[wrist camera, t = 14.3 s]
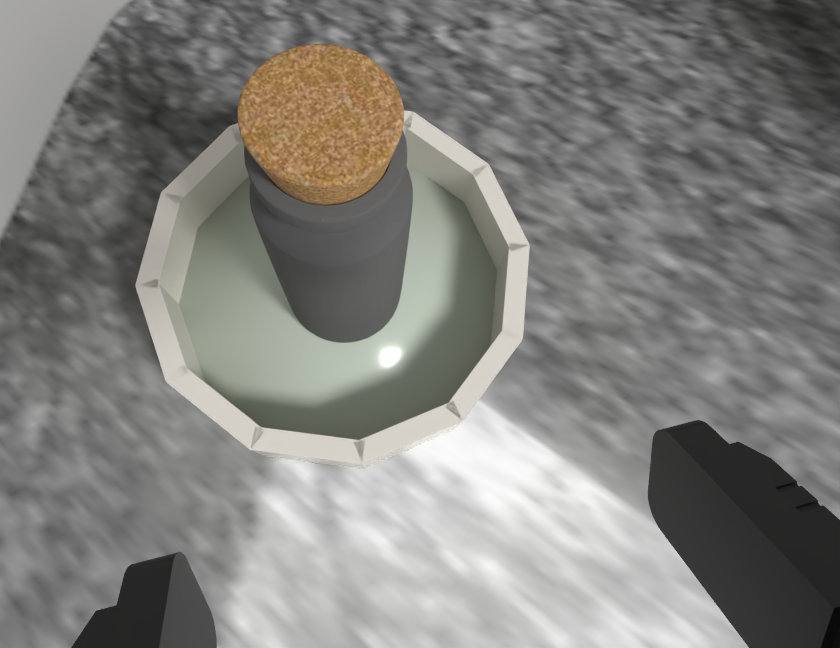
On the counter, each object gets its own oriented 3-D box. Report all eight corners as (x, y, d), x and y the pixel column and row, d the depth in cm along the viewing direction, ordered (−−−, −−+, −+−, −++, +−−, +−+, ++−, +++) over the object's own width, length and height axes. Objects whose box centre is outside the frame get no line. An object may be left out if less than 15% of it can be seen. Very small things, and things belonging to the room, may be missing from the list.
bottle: (275, 255, 32) (194, 50, 17) (381, 226, 33) (388, 8, 18) (305, 358, 30) (244, 228, 16) (416, 325, 31) (452, 173, 17)
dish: (430, 109, 36) (437, 62, 32) (564, 383, 32) (590, 366, 28) (129, 205, 33) (97, 166, 29) (233, 524, 29) (212, 527, 25)
